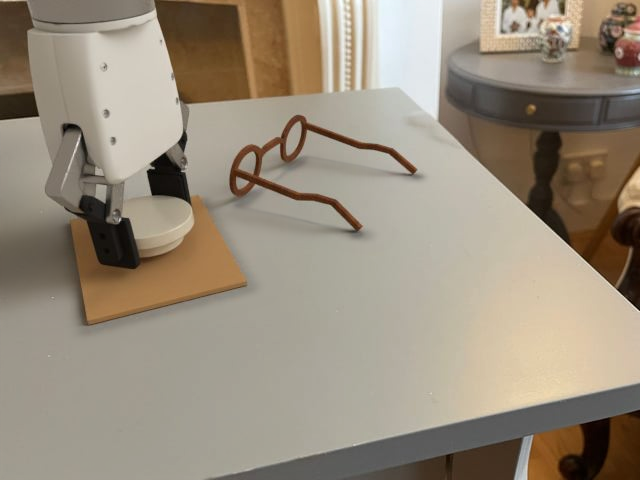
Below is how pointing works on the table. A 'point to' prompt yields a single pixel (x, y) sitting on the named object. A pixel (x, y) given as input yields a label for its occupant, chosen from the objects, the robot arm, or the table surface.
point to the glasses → (271, 144)
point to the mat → (156, 271)
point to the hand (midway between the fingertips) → (149, 237)
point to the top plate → (158, 222)
